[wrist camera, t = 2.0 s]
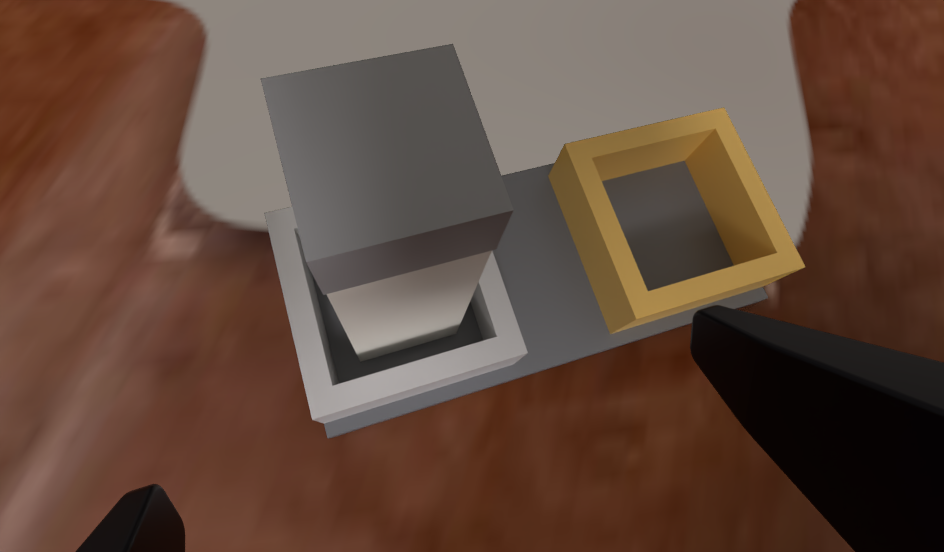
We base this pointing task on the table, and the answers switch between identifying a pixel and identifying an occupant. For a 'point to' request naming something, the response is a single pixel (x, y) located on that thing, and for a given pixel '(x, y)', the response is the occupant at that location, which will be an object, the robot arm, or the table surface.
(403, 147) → the white plug
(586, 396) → the table surface
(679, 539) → the table surface
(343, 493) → the table surface
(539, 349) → the socket board
